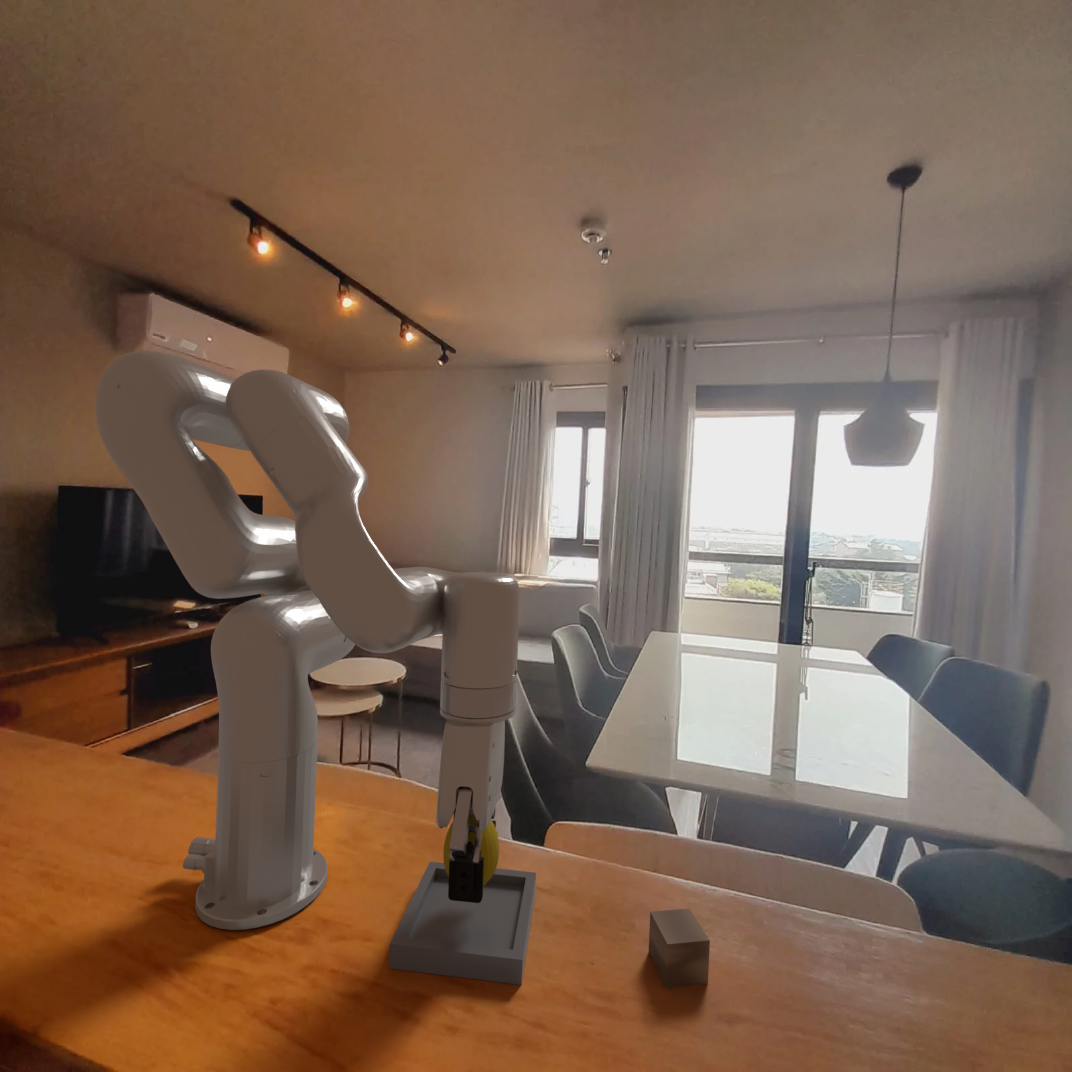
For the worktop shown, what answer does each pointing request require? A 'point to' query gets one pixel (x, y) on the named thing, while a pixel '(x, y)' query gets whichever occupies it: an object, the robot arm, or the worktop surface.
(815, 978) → the worktop surface
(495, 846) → the lemon
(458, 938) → the dish
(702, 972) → the metal cube
